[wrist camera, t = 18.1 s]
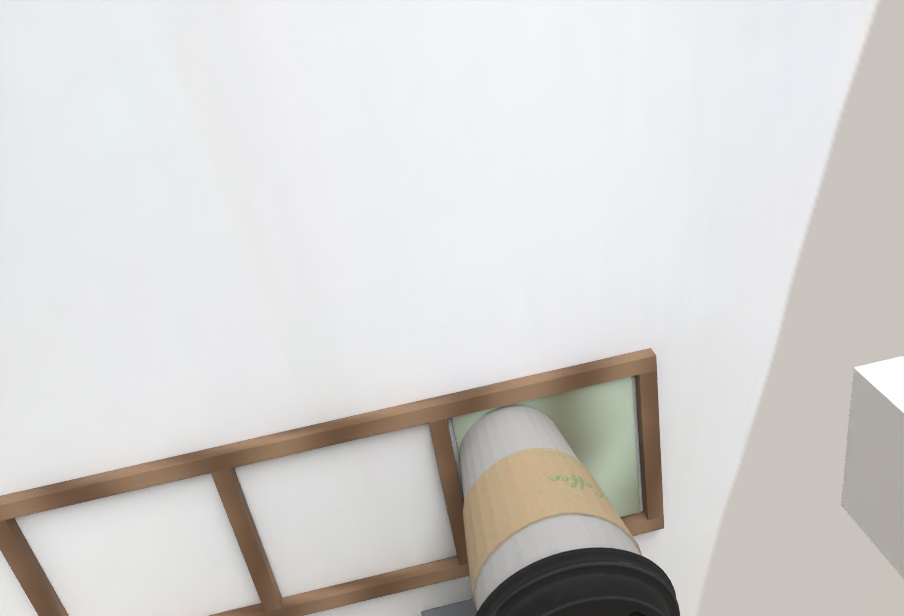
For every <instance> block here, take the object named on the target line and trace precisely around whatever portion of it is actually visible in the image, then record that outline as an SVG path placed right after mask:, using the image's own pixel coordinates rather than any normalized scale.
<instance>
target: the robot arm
mask: <svg viewBox="0 0 904 616" xmlns="http://www.w3.org/2000/svg"><path fill="white" fill-rule="evenodd" d="M841 505H842V507H843V508H844V509H845V510H846V511H847V512H848V514H849V515H850V516H851V517H852V518H853V520H854V521H855V522H856V523H857V524H858V525H859V526H860V528H861V529H862V530H863V531H864V533H865V534H866V535H867V536H868V537H869V538H870V540H871V541H872V542H873V543H874V544H875V546H876V547H877V548H878V549H879V550H880V551H881V553H882V554H883V555H884V556H885V557H886V559H887V560H888V561H889V562H890V563H891V564H892V566H894V568H895V569H896V570H897V572H898V573H899V574H900V575H901V576H902V577H903V579H904V358H903V357H902V356H901V357H897V358H893V359H888V360H884V361H880V362H876V363H871V364H867V365H863V366H859V367H854V372H853V382H852V394H851V404H850V415H849V425H848V436H847V447H846V458H845V470H844V480H843V492H842V502H841Z"/></svg>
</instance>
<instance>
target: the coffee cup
mask: <svg viewBox="0 0 904 616" xmlns="http://www.w3.org/2000/svg"><path fill="white" fill-rule="evenodd" d="M459 456H460V466H461V475H462V484H463V493H464V507H463V519H464V528H465V537H466V546H467V555H468V564H469V573H470V582H471V591H472V596H473V602H474V605H475V606H476V608H477V613H476V615H475V616H680V611H679V605H678V602H677V599H676V594H675V590H674V587H673V585H672V583H671V581H670V579H669V578H668V576H667V575H666V573H665V572H664V571H663V570H662V569H661V568H660V567H659V566H658V565H656V564H655V563H654V562H652V561H651V560H649V559H647V558H645V557H643V556H642V554H641V551H640V548H639V546H638V544H637V542H636V541H635V539H634V538H633V536H632V534H631V533H630V531H629V530H628V528H627V527H626V525H625V524H624V522H623V521H622V519H621V518H620V516H619V515H618V513H617V512H616V510H615V509H614V507H613V506H612V504H611V503H610V501H609V500H608V498H607V497H606V495H605V494H604V492H603V491H602V489H601V488H600V486H599V485H598V483H597V482H596V480H595V479H594V477H593V476H592V474H591V473H590V471H589V470H588V468H587V467H586V466H584V465H583V464H582V463H581V462H580V461H579V460H578V458H577V457H576V455H575V454H574V452H573V451H572V449H571V448H570V446H569V445H568V443H567V442H566V440H565V439H564V437H563V436H562V434H561V433H560V431H559V430H558V428H557V427H556V425H555V424H554V422H553V421H552V420H551V419H550V418H549V417H548V416H547V415H545V414H544V413H542V412H541V411H539V410H537V409H534V408H532V407H529V406H524V405H508V406H504V407H500V408H498V409H495V410H493V411H491V412H489V413H487V414H486V415H484V416H483V417H481V418H480V419H479V420H478V421H476V422H475V423H474V424H473V425H472V427H471V428H470V429H469V430H468V432H467V433H466V435H465V436H464V438H463V440H462V443H461V446H460V453H459Z"/></svg>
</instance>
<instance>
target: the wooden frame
mask: <svg viewBox="0 0 904 616" xmlns="http://www.w3.org/2000/svg"><path fill="white" fill-rule="evenodd" d="M632 376H635V383H636V399H637V415H638V431H639V447H640V463H641V480H642V496H643V512H640V499H639V483H638V468H637V452H636V437H635V421H634V406H633V390H632ZM508 405H524V406H529V407H532V408H534V409H537V410H539V411H541V412H542V413H544V414H545V415H547V416H548V417H549V418H550V419H551V420H552V421H553V422H554V424H555V425H556V427H557V428H558V430H559V431H560V433H561V434H562V436H563V437H564V439H565V440H566V442H567V443H568V445H569V446H570V448H571V449H572V451H573V452H574V454H575V455H576V457H577V458H578V460H579V461H580V462H581V463H582V464H583V465H584V466H586V467H587V468H588V470H589V471H590V473H591V474H592V476H593V477H594V479H595V480H596V482H597V483H598V485H599V486H600V488H601V489H602V491H603V492H604V494H605V495H606V497H607V498H608V500H609V501H610V503H611V504H612V506H613V507H614V509H615V510H616V512H617V513H618V515H619V516H620V518H621V519H622V521H623V522H624V524H625V525H626V527H627V528H628V530H629V531H630V533H631V534H632V536H634V535H638V534H642V533H646V532H651V531H655V530H659V529H663V528H664V515H663V494H662V472H661V451H660V429H659V407H658V386H657V364H656V355H655V354H654V352H653V351H652V349H651V348H650V349H646V350H642V351H637V352H633V353H628V354H624V355H620V356H615V357H611V358H606V359H602V360H598V361H593V362H589V363H584V364H580V365H576V366H571V367H567V368H562V369H558V370H554V371H549V372H545V373H540V374H536V375H532V376H527V377H523V378H518V379H514V380H510V381H505V382H501V383H496V384H492V385H488V386H483V387H479V388H474V389H470V390H466V391H461V392H457V393H452V394H448V395H444V396H439V397H435V398H430V399H426V400H421V401H417V402H413V403H408V404H404V405H399V406H395V407H391V408H386V409H382V410H377V411H373V412H369V413H364V414H360V415H355V416H351V417H347V418H342V419H338V420H333V421H329V422H325V423H320V424H316V425H311V426H307V427H303V428H298V429H294V430H289V431H285V432H281V433H276V434H272V435H267V436H263V437H259V438H254V439H250V440H245V441H241V442H237V443H232V444H228V445H223V446H219V447H215V448H210V449H206V450H201V451H197V452H193V453H188V454H184V455H179V456H175V457H171V458H166V459H162V460H157V461H153V462H149V463H144V464H140V465H135V466H131V467H127V468H122V469H118V470H113V471H109V472H105V473H100V474H96V475H91V476H87V477H83V478H78V479H74V480H69V481H65V482H61V483H56V484H52V485H47V486H43V487H39V488H34V489H30V490H25V491H21V492H17V493H12V494H8V495H3V496H0V550H1V552H2V554H3V555H4V557H5V559H6V560H7V562H8V564H9V566H10V567H11V569H12V571H13V572H14V574H15V576H16V578H17V579H18V581H19V583H20V584H21V586H22V588H23V589H24V591H25V593H26V595H27V596H28V598H29V600H30V601H31V603H32V605H33V607H34V608H35V610H36V612H37V613H38V615H39V616H68V614H67V613H66V611H65V609H64V607H63V605H62V604H61V602H60V600H59V598H58V596H57V595H56V593H55V591H54V589H53V587H52V586H51V584H50V582H49V580H48V579H47V577H46V575H45V573H44V571H43V570H42V568H41V566H40V564H39V562H38V561H37V559H36V557H35V555H34V553H33V552H32V550H31V548H30V546H29V545H28V543H27V541H26V539H25V537H24V536H23V534H22V532H21V530H20V528H19V527H18V525H17V523H16V521H15V519H14V518H16V517H20V516H25V515H29V514H33V513H38V512H42V511H46V510H51V509H55V508H60V507H64V506H68V505H73V504H77V503H81V502H86V501H90V500H94V499H99V498H103V497H108V496H112V495H116V494H121V493H125V492H129V491H134V490H138V489H143V488H147V487H151V486H156V485H160V484H164V483H169V482H173V481H177V480H182V479H186V478H191V477H195V476H199V475H204V474H208V473H211V474H212V477H213V479H214V482H215V484H216V487H217V489H218V492H219V495H220V497H221V500H222V502H223V505H224V507H225V510H226V513H227V515H228V518H229V520H230V523H231V525H232V528H233V531H234V533H235V536H236V538H237V541H238V543H239V546H240V549H241V551H242V554H243V556H244V559H245V561H246V564H247V566H248V569H249V572H250V574H251V577H252V579H253V582H254V584H255V587H256V590H257V592H258V595H259V597H260V600H261V602H262V603H260V604H256V605H252V606H248V607H244V608H239V609H235V610H231V611H227V612H223V613H219V614H214V615H210V616H303V615H307V614H312V613H316V612H320V611H324V610H328V609H332V608H336V607H341V606H345V605H349V604H353V603H357V602H361V601H365V600H369V599H374V598H378V597H382V596H386V595H390V594H394V593H398V592H403V591H407V590H411V589H415V588H419V587H423V586H427V585H432V584H436V583H440V582H444V581H448V580H452V579H456V578H460V577H465V576H469V575H470V573H469V564H468V555H467V546H466V537H465V528H464V519H463V507H464V502H463V497H462V492H461V487H460V482H459V477H458V472H457V467H456V462H455V457H454V452H453V447H452V442H451V437H450V432H449V428H448V423H447V419H448V418H452V423H453V428H454V433H455V438H456V443H457V448H458V453H460V446H461V443H462V440H463V438H464V436H465V435H466V433H467V432H468V430H469V429H470V428H471V427H472V425H473V424H474V423H475V422H476V421H478V420H479V419H480V418H481V417H483V416H484V415H486V414H487V413H489V412H491V411H493V410H495V409H498V408H500V407H504V406H508ZM426 423H429V426H430V431H431V436H432V440H433V445H434V449H435V454H436V459H437V463H438V468H439V473H440V477H441V482H442V487H443V491H444V496H445V501H446V505H447V510H448V515H449V519H450V524H451V528H452V533H453V538H454V542H455V547H456V552H457V556H456V557H452V558H448V559H443V560H439V561H435V562H431V563H427V564H423V565H418V566H414V567H410V568H406V569H402V570H398V571H393V572H389V573H385V574H381V575H377V576H373V577H368V578H364V579H360V580H356V581H352V582H348V583H343V584H339V585H335V586H331V587H327V588H323V589H319V590H314V591H310V592H306V593H302V594H298V595H294V596H289V597H285V598H282V597H281V594H280V592H279V589H278V586H277V583H276V581H275V578H274V575H273V573H272V570H271V567H270V565H269V562H268V559H267V556H266V554H265V551H264V548H263V546H262V543H261V540H260V538H259V535H258V532H257V529H256V527H255V524H254V521H253V519H252V516H251V513H250V511H249V508H248V505H247V502H246V500H245V497H244V494H243V492H242V489H241V486H240V484H239V481H238V478H237V475H236V473H235V470H234V467H239V466H243V465H247V464H252V463H256V462H260V461H265V460H269V459H273V458H278V457H282V456H287V455H291V454H295V453H300V452H304V451H308V450H313V449H317V448H321V447H326V446H330V445H335V444H339V443H343V442H348V441H352V440H356V439H361V438H365V437H370V436H374V435H378V434H383V433H387V432H391V431H396V430H400V429H404V428H409V427H413V426H418V425H422V424H426ZM459 458H460V456H459Z"/></svg>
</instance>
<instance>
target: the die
mask: <svg viewBox="0 0 904 616" xmlns="http://www.w3.org/2000/svg"><path fill="white" fill-rule="evenodd" d="M476 613H477V608H476V606H475V605H474V602H473V599H472V600H468V601H464V602H459V603H455V604H451V605H447V606H443V607H439V608H435V609H431V610H427V611H423V612H422V616H475V615H476Z"/></svg>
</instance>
